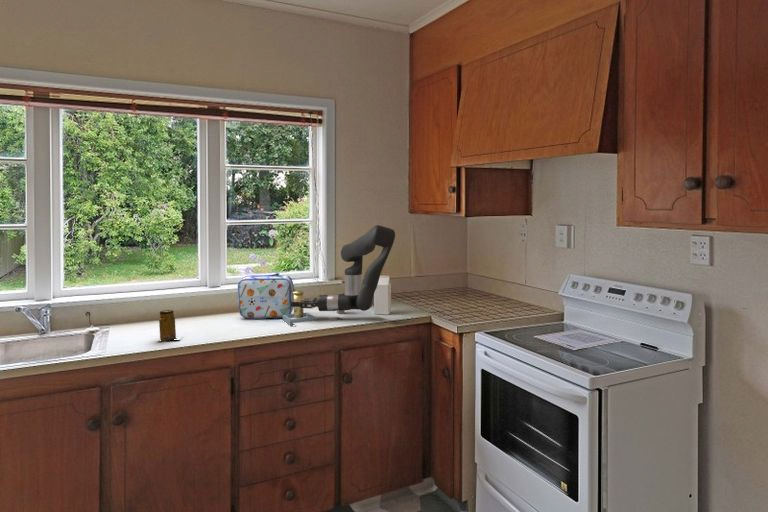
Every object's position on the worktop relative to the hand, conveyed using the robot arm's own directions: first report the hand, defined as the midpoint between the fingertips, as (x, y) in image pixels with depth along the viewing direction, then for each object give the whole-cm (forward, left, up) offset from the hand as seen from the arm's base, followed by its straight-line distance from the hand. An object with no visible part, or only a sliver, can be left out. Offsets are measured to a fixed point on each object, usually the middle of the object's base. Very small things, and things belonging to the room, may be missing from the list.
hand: (292, 303), depth 243 cm
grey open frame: (+1, +2, -9) cm, 9 cm away
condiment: (+6, -54, -9) cm, 55 cm away
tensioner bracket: (+5, +20, -9) cm, 23 cm away
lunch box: (-17, -8, -9) cm, 21 cm away
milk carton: (+2, +45, -9) cm, 46 cm away
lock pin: (+1, +2, -6) cm, 7 cm away
